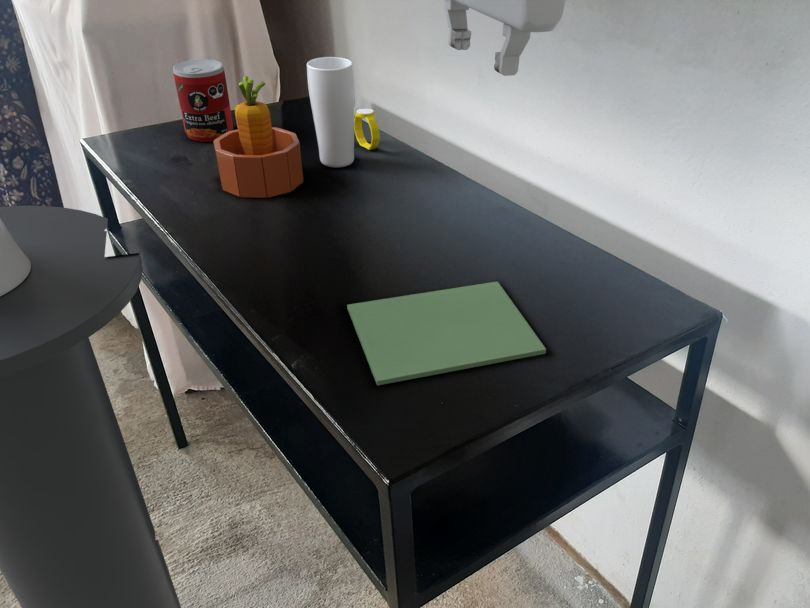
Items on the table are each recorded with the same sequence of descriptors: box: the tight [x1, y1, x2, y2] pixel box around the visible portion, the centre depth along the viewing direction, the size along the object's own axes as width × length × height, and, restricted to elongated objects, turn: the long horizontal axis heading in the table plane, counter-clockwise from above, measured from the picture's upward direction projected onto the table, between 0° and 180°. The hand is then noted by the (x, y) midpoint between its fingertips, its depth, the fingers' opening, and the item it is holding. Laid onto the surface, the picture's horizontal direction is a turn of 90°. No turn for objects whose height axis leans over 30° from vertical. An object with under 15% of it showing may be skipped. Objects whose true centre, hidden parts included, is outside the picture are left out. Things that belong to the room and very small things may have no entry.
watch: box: [354, 108, 381, 151], centre depth 117 cm, size 6×3×6 cm, turn 37°
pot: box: [213, 126, 304, 199], centre depth 106 cm, size 12×12×6 cm
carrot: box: [234, 75, 273, 155], centre depth 103 cm, size 5×5×15 cm
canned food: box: [172, 58, 234, 143], centre depth 118 cm, size 8×8×11 cm
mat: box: [346, 281, 547, 386], centre depth 78 cm, size 18×14×1 cm
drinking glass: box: [306, 56, 356, 169], centre depth 109 cm, size 7×7×15 cm
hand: (481, 60), depth 71 cm, fingers open, 8 cm apart
